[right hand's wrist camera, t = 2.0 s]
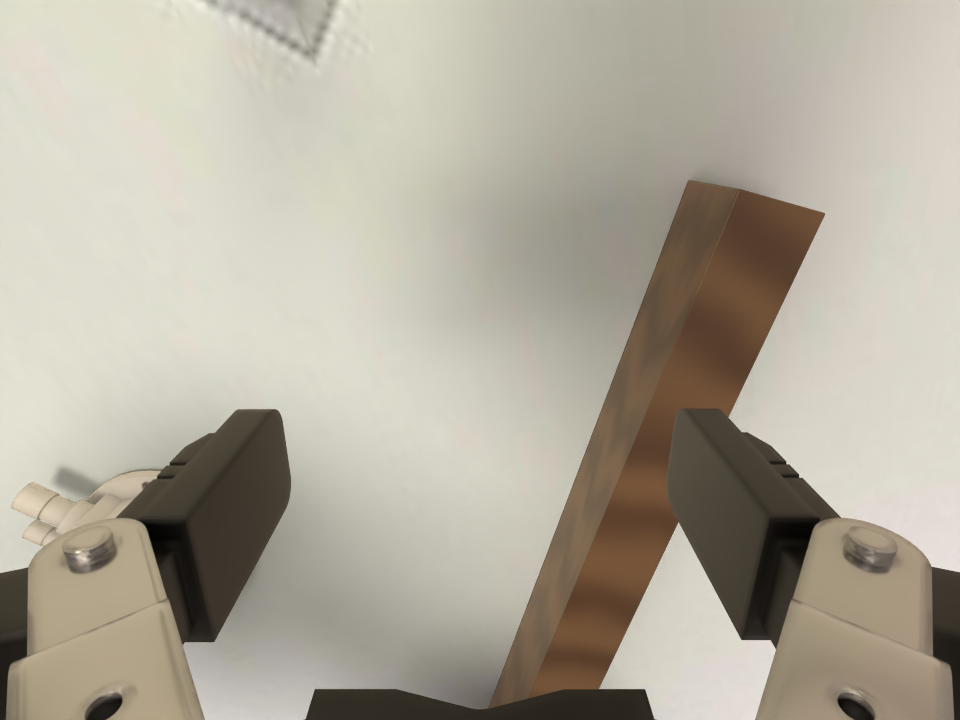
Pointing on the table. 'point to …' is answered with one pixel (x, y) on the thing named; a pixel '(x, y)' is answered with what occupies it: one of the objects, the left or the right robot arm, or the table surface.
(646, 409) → the bar
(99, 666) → the right robot arm
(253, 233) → the table surface
